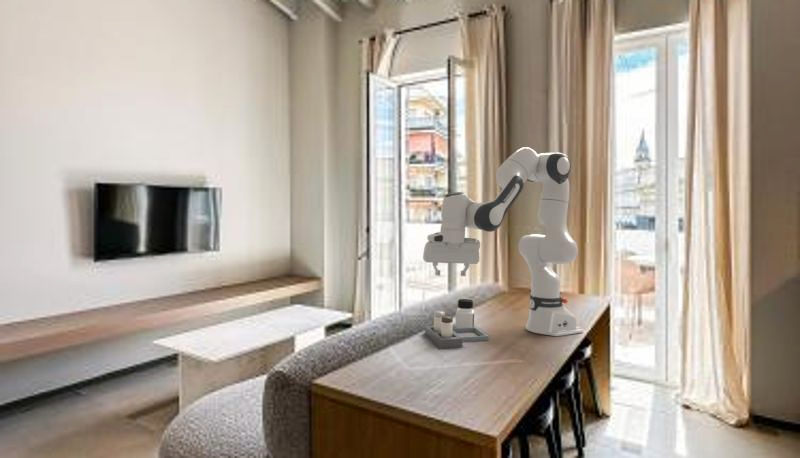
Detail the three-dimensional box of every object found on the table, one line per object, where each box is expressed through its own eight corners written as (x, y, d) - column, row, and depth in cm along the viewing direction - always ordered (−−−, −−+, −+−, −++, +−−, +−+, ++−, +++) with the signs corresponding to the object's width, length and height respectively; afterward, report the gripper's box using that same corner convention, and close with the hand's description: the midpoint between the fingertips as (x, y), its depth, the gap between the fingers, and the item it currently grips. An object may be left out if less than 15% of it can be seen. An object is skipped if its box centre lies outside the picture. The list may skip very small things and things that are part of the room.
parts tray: (474, 333, 192) (475, 327, 192) (488, 342, 181) (488, 335, 181) (448, 334, 189) (449, 328, 189) (460, 344, 178) (460, 337, 178)
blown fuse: (449, 341, 178) (450, 315, 177) (453, 344, 174) (454, 318, 173) (439, 342, 177) (440, 316, 176) (443, 345, 173) (443, 319, 172)
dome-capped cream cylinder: (441, 335, 185) (442, 310, 185) (445, 338, 181) (446, 313, 181) (432, 335, 184) (432, 311, 184) (435, 338, 180) (436, 313, 180)
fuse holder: (421, 335, 187) (421, 325, 187) (445, 334, 190) (445, 324, 190) (438, 352, 168) (439, 340, 168) (465, 350, 171) (466, 339, 170)
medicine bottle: (472, 331, 195) (473, 301, 195) (455, 329, 197) (456, 300, 196) (473, 326, 202) (474, 298, 202) (456, 325, 204) (457, 297, 203)
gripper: (477, 237, 179) (475, 274, 180) (423, 235, 176) (421, 273, 177) (483, 239, 173) (480, 277, 174) (426, 236, 170) (424, 276, 171)
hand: (450, 275), depth 175 cm, fingers open, 8 cm apart
